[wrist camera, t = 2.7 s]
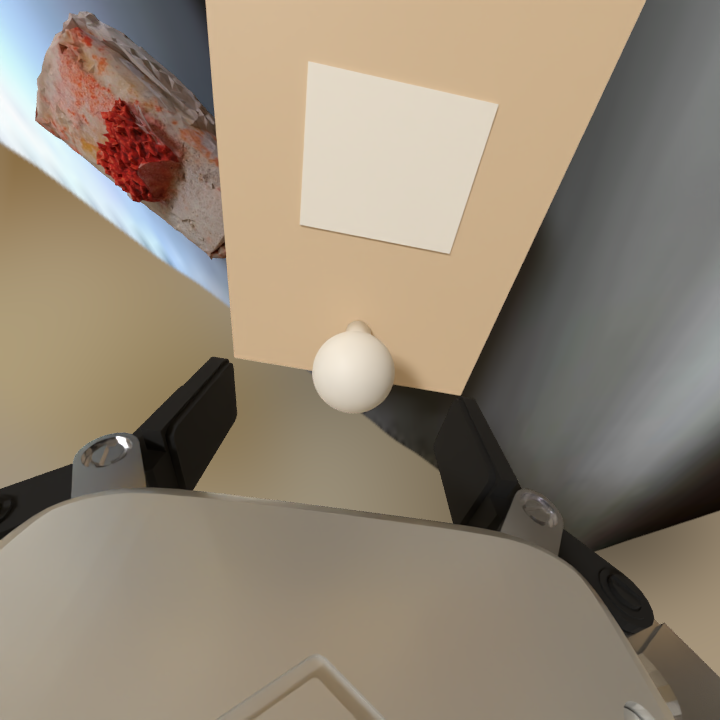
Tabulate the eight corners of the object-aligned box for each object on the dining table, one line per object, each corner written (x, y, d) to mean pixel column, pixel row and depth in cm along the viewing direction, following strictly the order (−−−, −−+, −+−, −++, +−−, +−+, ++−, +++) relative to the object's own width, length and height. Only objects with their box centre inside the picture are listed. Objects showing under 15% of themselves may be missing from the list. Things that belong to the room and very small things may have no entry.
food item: (119, 146, 23) (-24, 119, 15) (150, 43, 20) (-12, -68, 12) (258, 256, 28) (207, 283, 19) (302, 186, 24) (264, 181, 16)
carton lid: (656, -50, 10) (1163, -490, 3) (457, 388, 20) (495, 476, 14) (203, -171, 9) (-196, -1026, 3) (239, 351, 19) (174, 426, 13)
